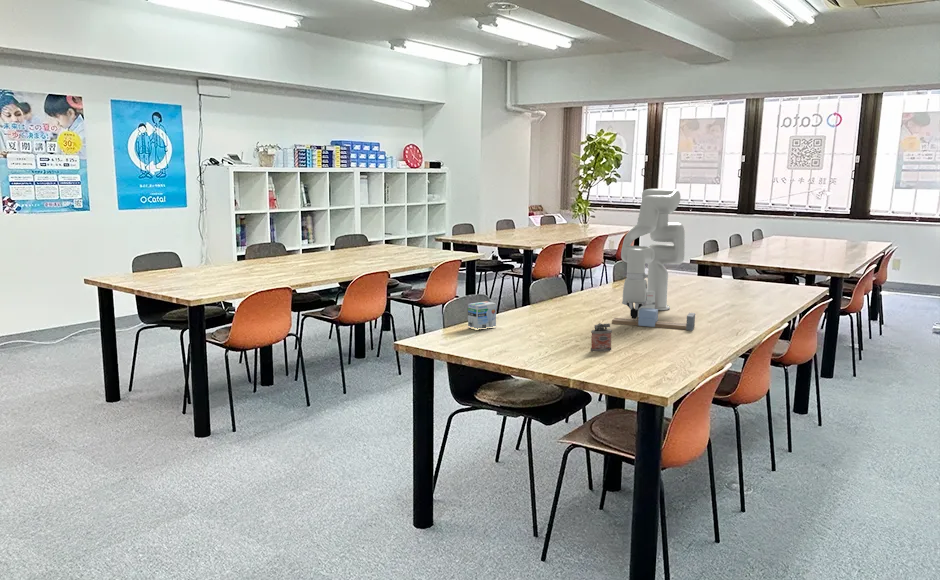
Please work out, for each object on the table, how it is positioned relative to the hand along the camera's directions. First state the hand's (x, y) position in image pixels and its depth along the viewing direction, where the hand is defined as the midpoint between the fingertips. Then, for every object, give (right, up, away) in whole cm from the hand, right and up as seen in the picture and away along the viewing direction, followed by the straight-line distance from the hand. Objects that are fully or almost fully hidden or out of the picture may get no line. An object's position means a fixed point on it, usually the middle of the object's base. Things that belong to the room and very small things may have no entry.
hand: (633, 318), depth 308 cm
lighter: (-23, -10, -48) cm, 54 cm away
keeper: (+6, -3, -2) cm, 7 cm away
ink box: (+9, 0, +18) cm, 20 cm away
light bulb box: (-67, -4, -10) cm, 67 cm away
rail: (+7, -3, -3) cm, 9 cm away
